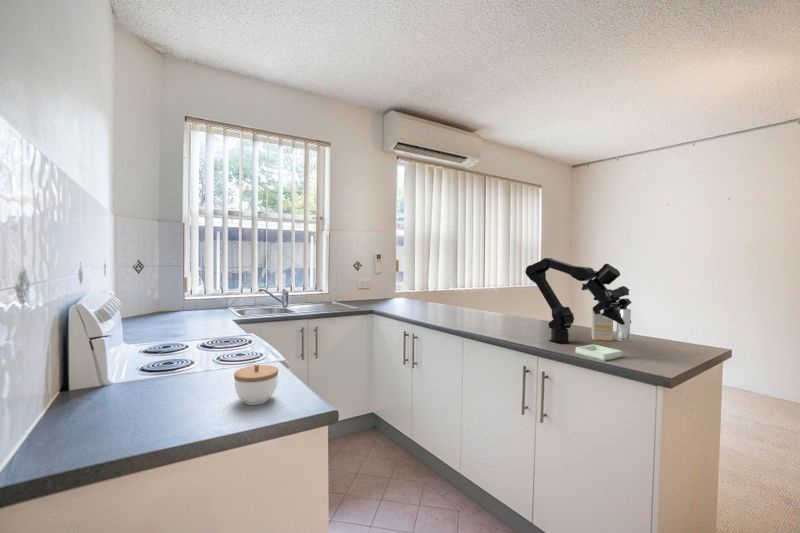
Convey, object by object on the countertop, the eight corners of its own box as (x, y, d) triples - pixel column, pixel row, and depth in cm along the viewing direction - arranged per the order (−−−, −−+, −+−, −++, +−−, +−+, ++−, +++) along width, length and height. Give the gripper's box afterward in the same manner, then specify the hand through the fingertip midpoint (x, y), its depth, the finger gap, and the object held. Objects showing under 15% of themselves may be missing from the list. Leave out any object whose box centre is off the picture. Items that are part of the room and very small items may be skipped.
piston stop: (613, 338, 143) (614, 308, 143) (621, 338, 145) (623, 308, 144) (623, 341, 139) (625, 310, 139) (632, 340, 141) (633, 309, 140)
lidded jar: (246, 412, 88) (246, 374, 88) (226, 400, 95) (226, 365, 95) (286, 399, 96) (286, 364, 96) (265, 389, 103) (265, 356, 103)
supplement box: (610, 339, 172) (611, 311, 171) (612, 341, 167) (613, 313, 167) (590, 337, 174) (591, 310, 174) (592, 340, 170) (593, 312, 169)
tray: (575, 353, 146) (575, 347, 146) (593, 350, 151) (593, 344, 151) (603, 361, 136) (604, 354, 135) (622, 357, 141) (622, 350, 141)
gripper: (601, 279, 139) (631, 313, 131) (627, 278, 149) (656, 309, 140) (581, 297, 146) (607, 330, 138) (607, 295, 156) (633, 326, 147)
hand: (627, 323), depth 141 cm, fingers closed on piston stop, 4 cm apart
